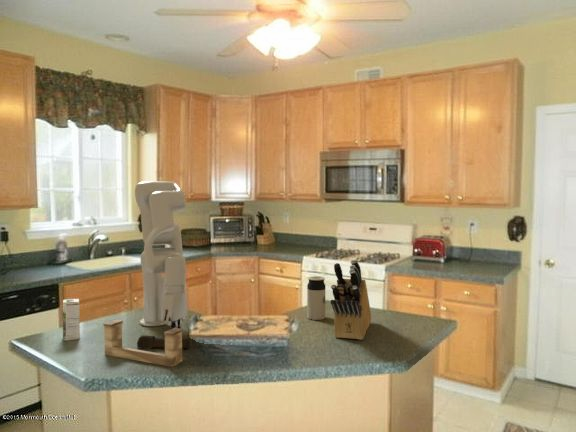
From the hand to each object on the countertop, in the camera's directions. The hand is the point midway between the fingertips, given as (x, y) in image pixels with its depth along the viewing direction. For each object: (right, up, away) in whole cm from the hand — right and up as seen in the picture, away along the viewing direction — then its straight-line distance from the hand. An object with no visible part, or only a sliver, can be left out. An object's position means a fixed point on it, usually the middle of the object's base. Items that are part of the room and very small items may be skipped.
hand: (176, 337), depth 168 cm
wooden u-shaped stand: (-7, -2, -17) cm, 18 cm away
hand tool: (-3, -2, -7) cm, 8 cm away
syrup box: (-41, -1, +4) cm, 41 cm away
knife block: (+67, -1, +11) cm, 68 cm away
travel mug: (+54, 0, +32) cm, 63 cm away
